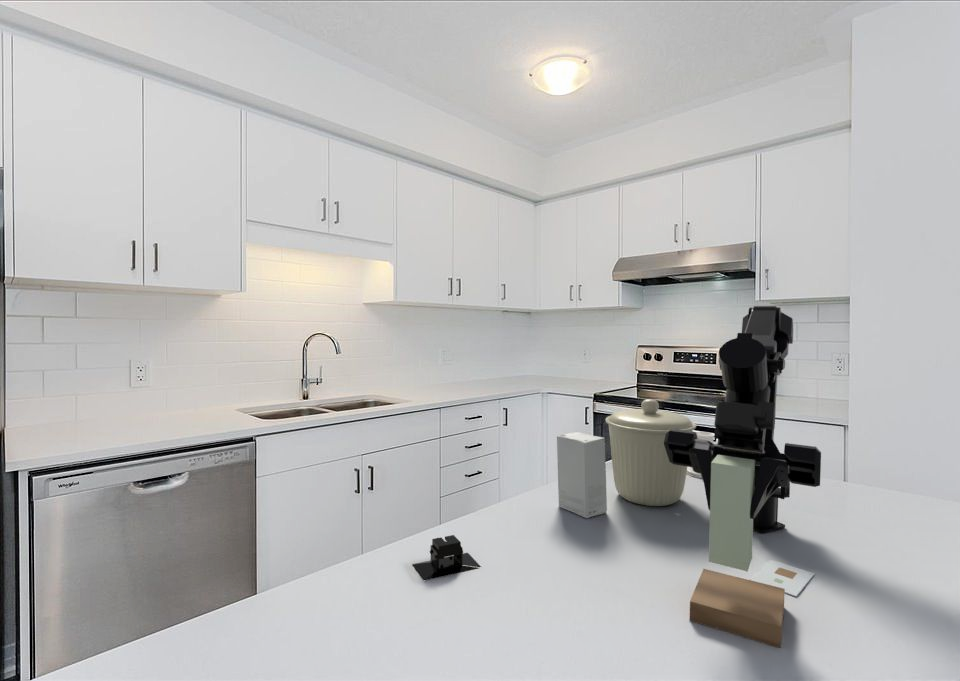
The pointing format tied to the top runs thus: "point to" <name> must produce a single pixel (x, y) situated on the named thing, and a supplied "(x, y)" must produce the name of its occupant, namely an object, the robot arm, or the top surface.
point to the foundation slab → (739, 606)
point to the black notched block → (445, 559)
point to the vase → (701, 436)
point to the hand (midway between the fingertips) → (730, 513)
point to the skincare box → (582, 474)
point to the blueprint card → (783, 577)
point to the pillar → (731, 511)
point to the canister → (646, 454)
